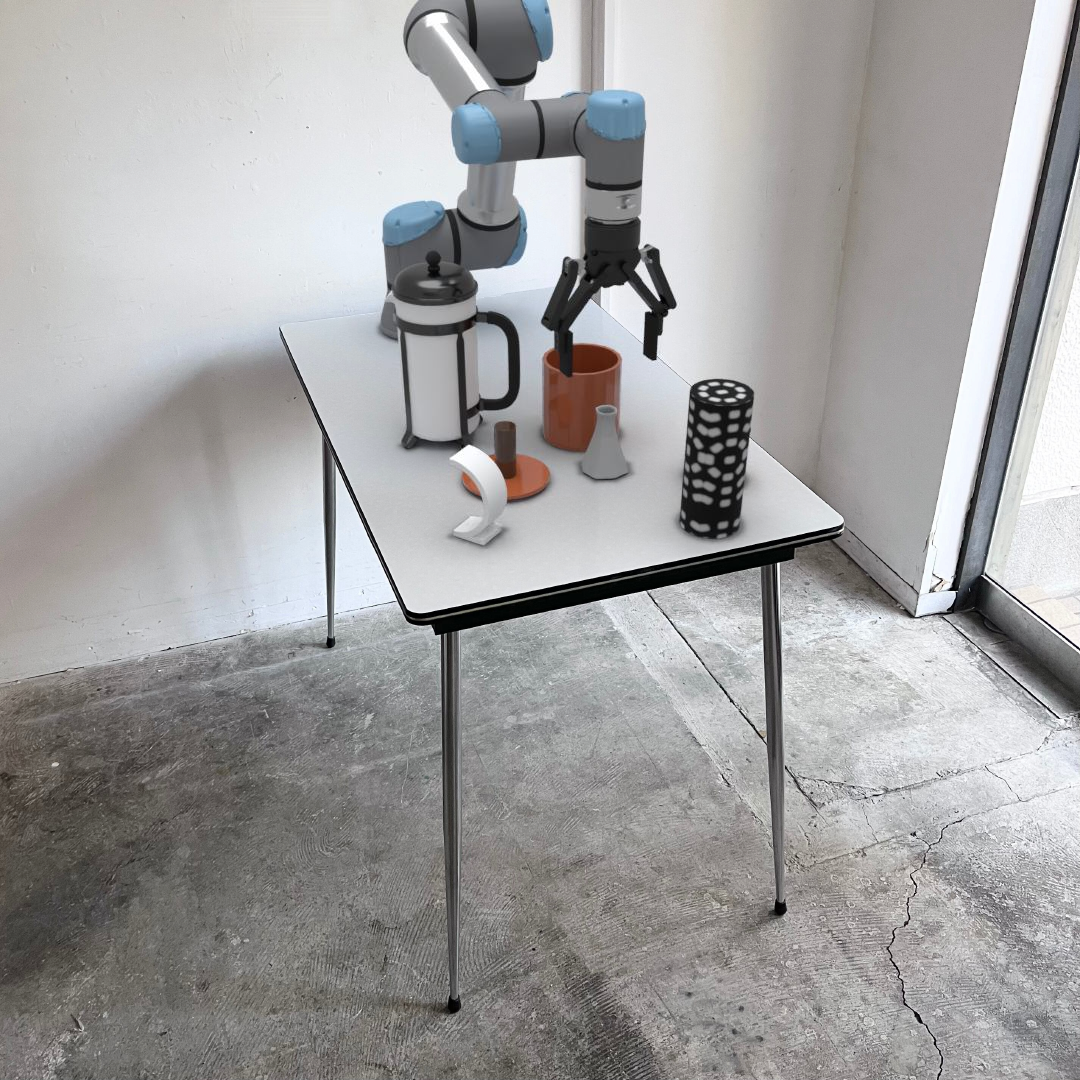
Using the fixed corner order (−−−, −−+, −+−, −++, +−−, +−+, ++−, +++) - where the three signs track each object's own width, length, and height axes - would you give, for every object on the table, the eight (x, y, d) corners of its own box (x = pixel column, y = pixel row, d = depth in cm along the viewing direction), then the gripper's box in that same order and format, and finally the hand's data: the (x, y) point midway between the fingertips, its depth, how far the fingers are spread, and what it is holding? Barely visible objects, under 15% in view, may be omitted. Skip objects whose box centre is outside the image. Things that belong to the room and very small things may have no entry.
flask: (636, 475, 164) (639, 415, 158) (592, 484, 161) (594, 423, 156) (616, 454, 169) (618, 395, 164) (573, 462, 167) (574, 403, 162)
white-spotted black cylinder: (693, 542, 148) (705, 409, 137) (670, 512, 154) (680, 383, 144) (749, 533, 150) (765, 401, 139) (724, 503, 156) (737, 375, 146)
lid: (449, 470, 165) (446, 416, 160) (527, 453, 169) (527, 399, 164) (482, 511, 155) (480, 454, 150) (564, 491, 160) (564, 435, 155)
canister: (530, 425, 178) (529, 351, 171) (596, 411, 182) (598, 338, 175) (563, 457, 168) (564, 380, 161) (632, 441, 173) (636, 366, 166)
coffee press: (427, 468, 165) (415, 277, 149) (380, 428, 177) (364, 246, 160) (523, 439, 173) (521, 254, 157) (472, 403, 185) (465, 227, 168)
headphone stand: (471, 520, 153) (468, 444, 146) (508, 532, 150) (506, 455, 144) (453, 535, 150) (449, 458, 143) (490, 547, 147) (487, 470, 140)
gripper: (539, 236, 138) (540, 391, 149) (707, 212, 146) (696, 359, 158) (515, 221, 143) (518, 371, 155) (678, 198, 152) (670, 341, 163)
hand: (608, 365), depth 156 cm, fingers open, 13 cm apart
